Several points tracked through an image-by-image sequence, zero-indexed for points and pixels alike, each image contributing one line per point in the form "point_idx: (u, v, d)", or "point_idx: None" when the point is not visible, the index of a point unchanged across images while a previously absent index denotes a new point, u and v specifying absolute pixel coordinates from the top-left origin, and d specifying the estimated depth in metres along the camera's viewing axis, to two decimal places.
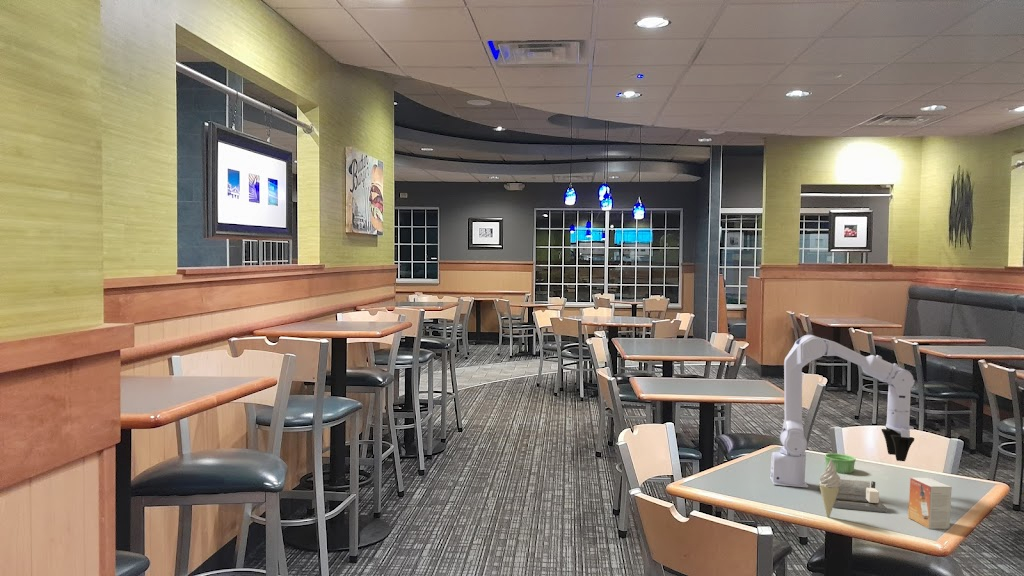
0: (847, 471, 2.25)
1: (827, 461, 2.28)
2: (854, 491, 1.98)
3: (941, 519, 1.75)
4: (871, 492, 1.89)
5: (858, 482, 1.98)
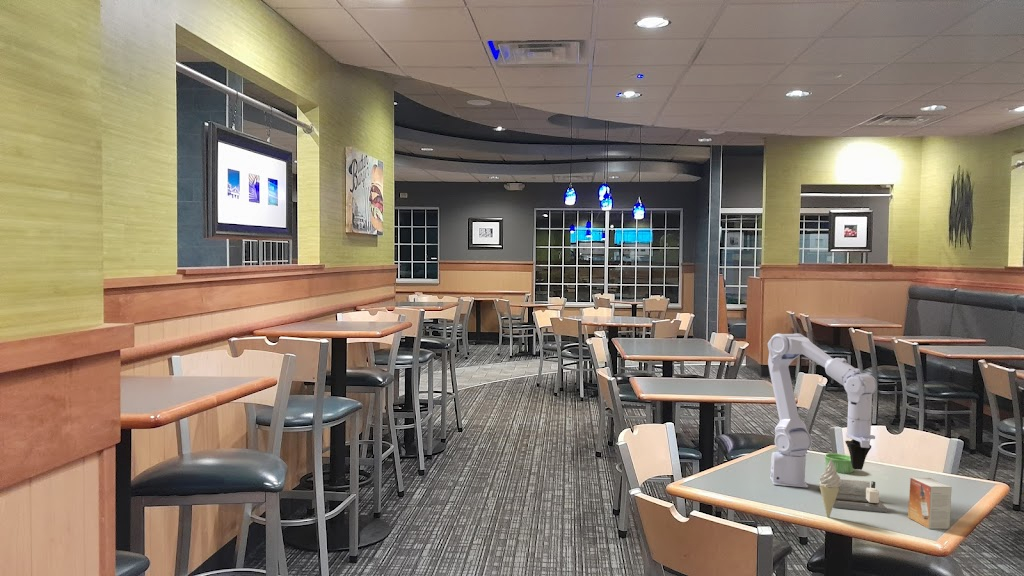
0: (847, 471, 2.25)
1: (827, 461, 2.28)
2: (854, 491, 1.98)
3: (941, 519, 1.75)
4: (871, 492, 1.89)
5: (858, 482, 1.98)
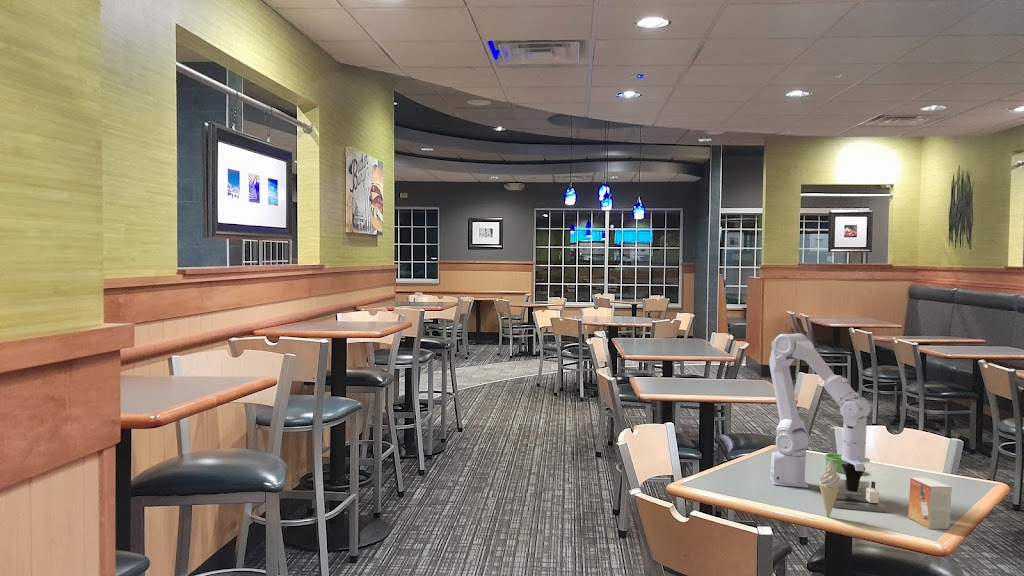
0: None
1: (827, 461, 2.28)
2: None
3: (941, 519, 1.75)
4: (871, 492, 1.89)
5: None
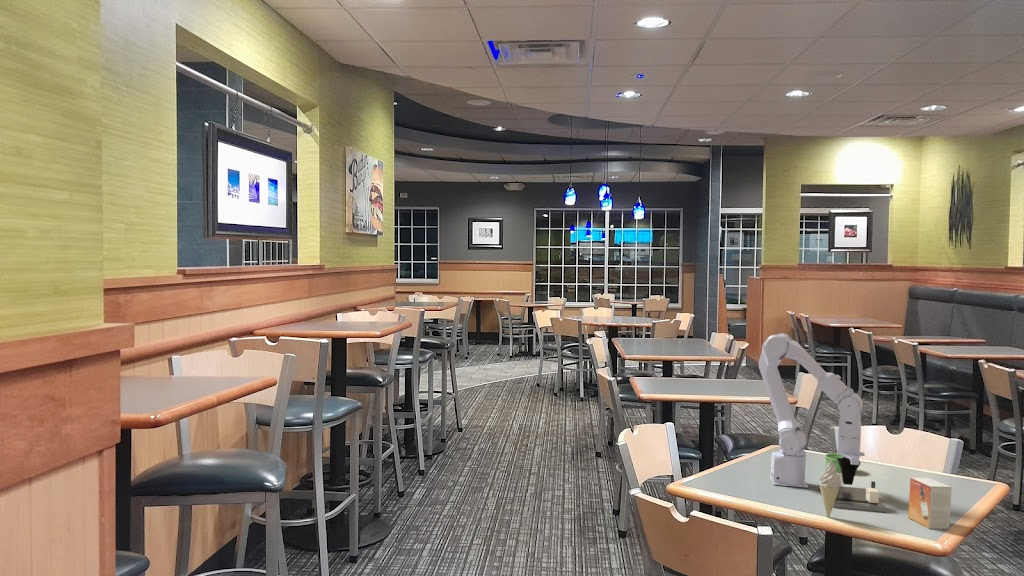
0: None
1: (827, 461, 2.28)
2: (840, 485, 2.03)
3: (941, 519, 1.75)
4: (871, 492, 1.89)
5: (841, 475, 2.04)
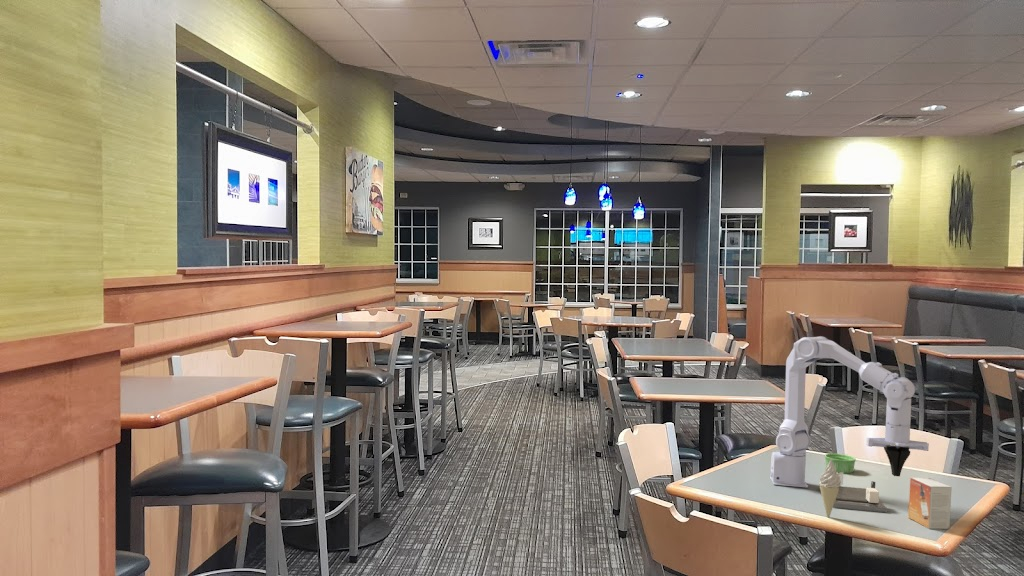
0: (847, 471, 2.25)
1: (827, 461, 2.28)
2: None
3: (941, 519, 1.75)
4: (871, 492, 1.89)
5: (840, 475, 2.04)
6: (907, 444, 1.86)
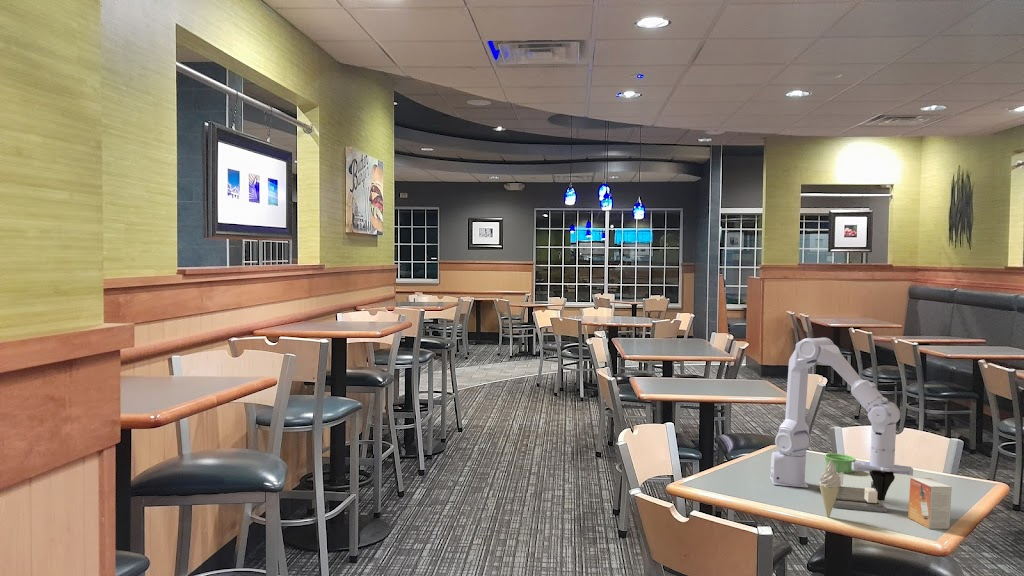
0: (847, 471, 2.25)
1: (827, 461, 2.28)
2: None
3: (941, 519, 1.75)
4: (870, 492, 1.89)
5: (840, 475, 2.04)
6: (892, 469, 1.87)
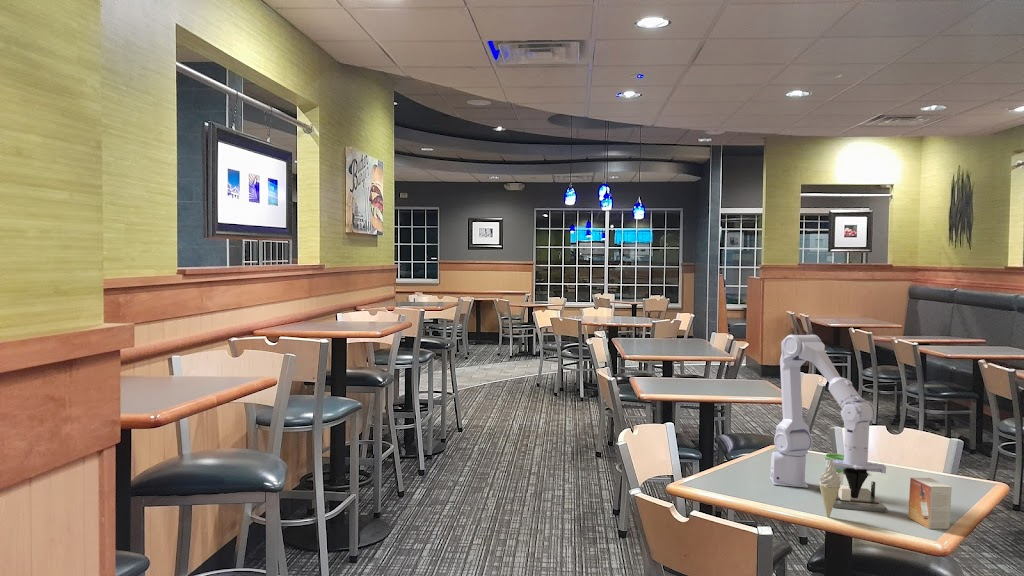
0: None
1: None
2: None
3: (941, 519, 1.75)
4: (843, 489, 1.91)
5: (840, 475, 2.04)
6: (865, 467, 1.89)
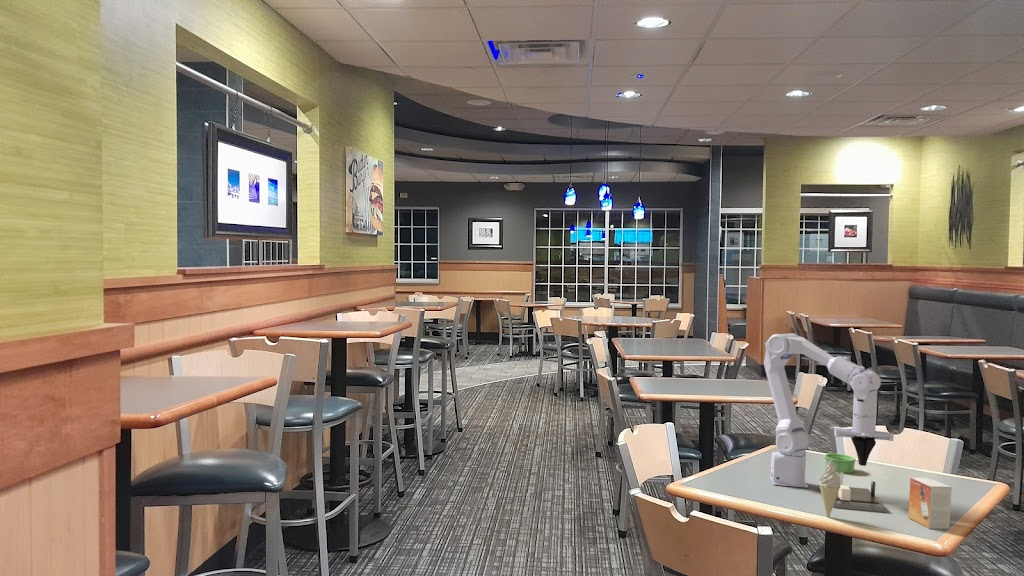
0: (847, 471, 2.25)
1: (827, 461, 2.28)
2: None
3: (941, 519, 1.75)
4: (843, 489, 1.91)
5: (840, 475, 2.04)
6: (873, 434, 1.93)
